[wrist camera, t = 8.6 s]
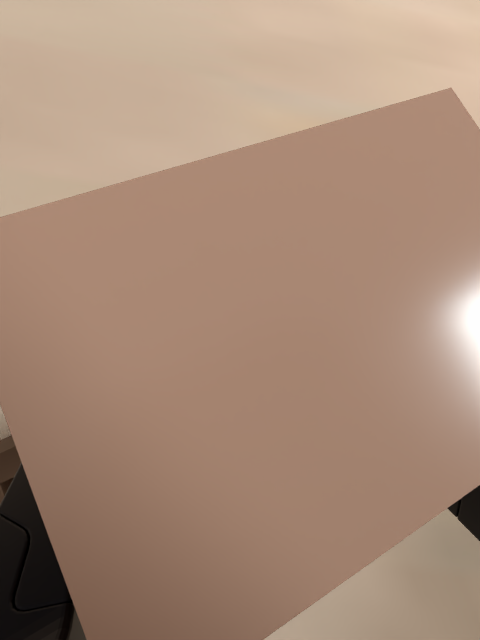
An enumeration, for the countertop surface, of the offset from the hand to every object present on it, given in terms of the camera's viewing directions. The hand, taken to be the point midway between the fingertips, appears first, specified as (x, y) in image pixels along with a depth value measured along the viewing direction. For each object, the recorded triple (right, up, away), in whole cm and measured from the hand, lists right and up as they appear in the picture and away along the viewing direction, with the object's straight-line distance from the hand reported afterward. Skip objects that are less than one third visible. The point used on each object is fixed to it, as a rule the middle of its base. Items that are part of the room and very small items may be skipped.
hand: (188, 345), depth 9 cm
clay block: (-1, -3, +6) cm, 7 cm away
